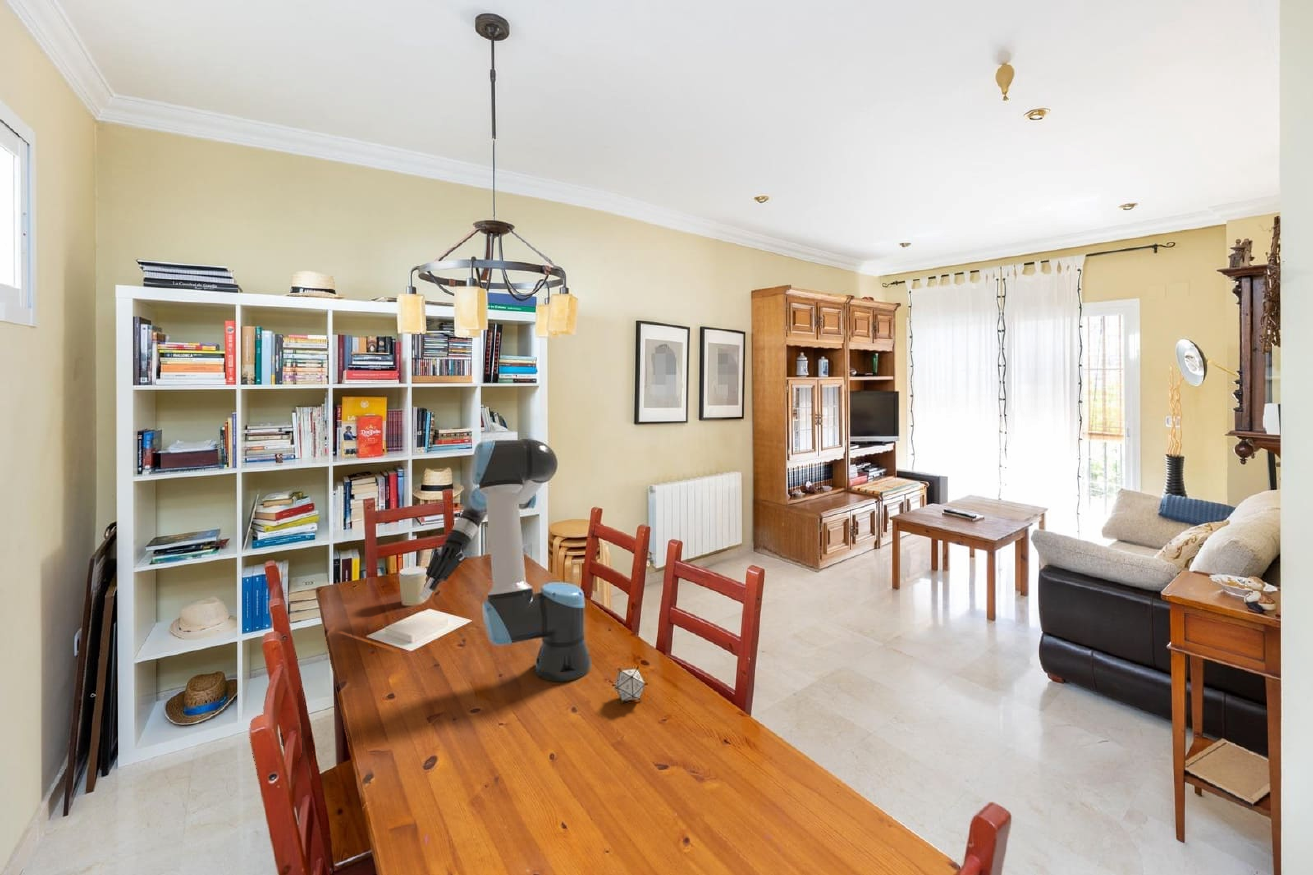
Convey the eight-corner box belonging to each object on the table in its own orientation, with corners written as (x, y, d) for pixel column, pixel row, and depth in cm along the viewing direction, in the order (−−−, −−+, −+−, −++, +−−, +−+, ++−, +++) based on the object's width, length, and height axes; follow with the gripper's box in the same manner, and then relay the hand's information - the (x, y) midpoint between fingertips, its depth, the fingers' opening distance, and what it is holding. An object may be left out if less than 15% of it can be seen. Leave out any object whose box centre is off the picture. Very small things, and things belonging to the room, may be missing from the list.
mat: (472, 622, 187) (472, 620, 187) (411, 653, 165) (411, 651, 165) (429, 610, 196) (429, 608, 196) (365, 638, 174) (365, 636, 174)
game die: (621, 714, 142) (598, 680, 143) (644, 691, 148) (622, 658, 149) (637, 713, 135) (613, 677, 136) (661, 688, 141) (637, 654, 142)
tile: (448, 618, 182) (411, 635, 170) (448, 625, 183) (412, 642, 170) (422, 611, 188) (384, 627, 176) (422, 617, 188) (385, 634, 176)
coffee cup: (433, 601, 203) (432, 569, 202) (410, 610, 196) (409, 576, 194) (417, 596, 208) (416, 564, 207) (393, 604, 201) (392, 571, 199)
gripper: (481, 542, 193) (444, 607, 180) (454, 537, 199) (415, 599, 186) (469, 531, 188) (430, 596, 175) (441, 526, 194) (401, 589, 181)
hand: (422, 598), depth 181 cm, fingers closed
